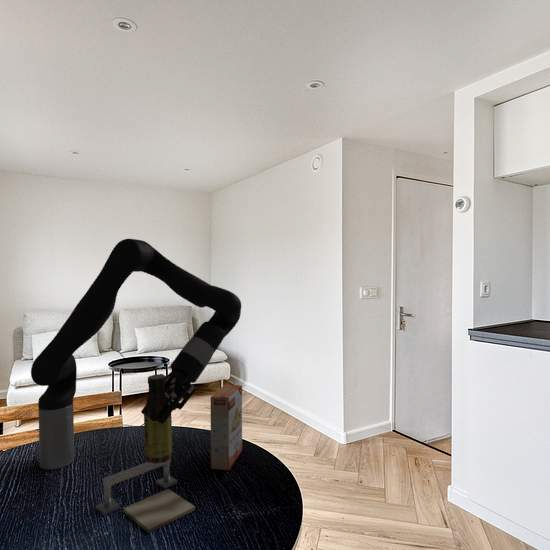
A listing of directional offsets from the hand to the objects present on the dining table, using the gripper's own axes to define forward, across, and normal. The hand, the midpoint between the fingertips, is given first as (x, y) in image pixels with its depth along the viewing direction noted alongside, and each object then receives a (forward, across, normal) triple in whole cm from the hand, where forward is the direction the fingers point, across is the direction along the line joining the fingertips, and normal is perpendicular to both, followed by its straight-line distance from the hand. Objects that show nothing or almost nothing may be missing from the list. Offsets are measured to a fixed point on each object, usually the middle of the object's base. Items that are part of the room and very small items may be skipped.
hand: (151, 417), depth 97 cm
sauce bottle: (+6, 0, +9) cm, 11 cm away
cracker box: (-5, -9, +37) cm, 38 cm away
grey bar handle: (+15, -10, +17) cm, 25 cm away
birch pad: (+15, 0, +17) cm, 22 cm away
